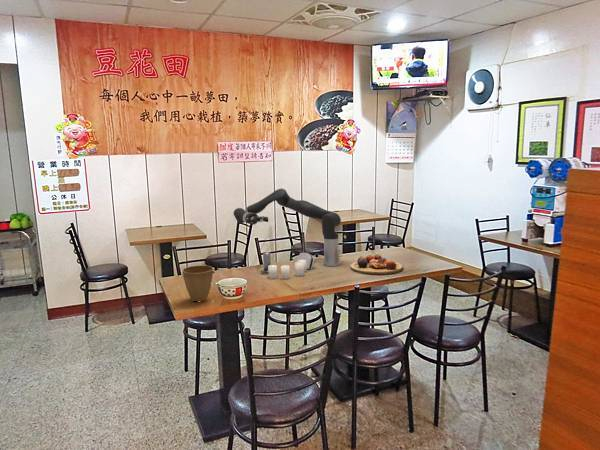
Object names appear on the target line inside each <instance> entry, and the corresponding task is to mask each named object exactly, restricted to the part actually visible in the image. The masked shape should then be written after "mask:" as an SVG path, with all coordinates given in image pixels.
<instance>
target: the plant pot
mask: <svg viewBox="0 0 600 450" xmlns="http://www.w3.org/2000/svg"><path fill="white" fill-rule="evenodd" d="M181 271H182V277H183V280H184V284H185V289H186V290H187V294H188V296H189V298H190V300H191V302H193V301H204V300H206V299H207V300H208V298H209V293H210V291H211V286H212V282H213V275H214V274H213V273H214V267H213V266H211V265H192V266H187V267H184V268H183V269H181ZM207 300H206V301H207ZM204 302H205V301H204Z"/></svg>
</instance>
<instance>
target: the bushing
mask: <svg viewBox="0 0 600 450" xmlns="http://www.w3.org/2000/svg"><path fill="white" fill-rule="evenodd" d="M271 258H272V257H271V252H270V251H263V252H262V259H263V260H262V261H263V263H262V264H263V270H262V271H263V272H264V273H268V266H269V265H272V262H271V260H272V259H271Z"/></svg>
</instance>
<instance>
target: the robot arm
mask: <svg viewBox="0 0 600 450" xmlns="http://www.w3.org/2000/svg"><path fill="white" fill-rule="evenodd" d="M273 202H276V203H277V204H278V205H279V206H280V207H283V208H286V209H290V210H293V211H294V212H296V213H298V214H300V215H302V216H304V217H307V218H311V219H317V220H321V229H322V235H323V258H324V259H323V260H324V261H323V265H324V266H327V267H337V266H340V263H341V262H340V259H341V258H340V250H339V234H338V233H337V232H336V230H335V229H336V227H337V226H339V225H340V224H341V221H342V219H341V217H340V215H339V214H338V213H337V212H334V211H330V210H327V209H325V208H323V207H320V206H318V205H316V204H314V203H311V202H310V201H309V202H308V201H307V200H303V199H301V200H297V199H294V198H293V197H291V196H290V195H289V193H288V192H287V191H286V189H285V188H279V189H276V190H274V191H273V192H271V193H270V194H269V195H267V196H266V197H264V198H262V199H260V200H259V201H257V202H255V203H252V204H250V205H248V206H247V207H246V210H245V209H244V208H242V207H237V208H235V209H234V210H233V213H232V214H233V216H234V218H235V220H236V221H237V223H238V224H243V223H246V224H249V225H252V226H254V225H256V224H258V223H264V222H265V223H268V222H269V216H259V215H258V214H259V213H261V212H263V211H264V210H265V209H266V207H267V206H268V205H270V204H271V203H273Z"/></svg>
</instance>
